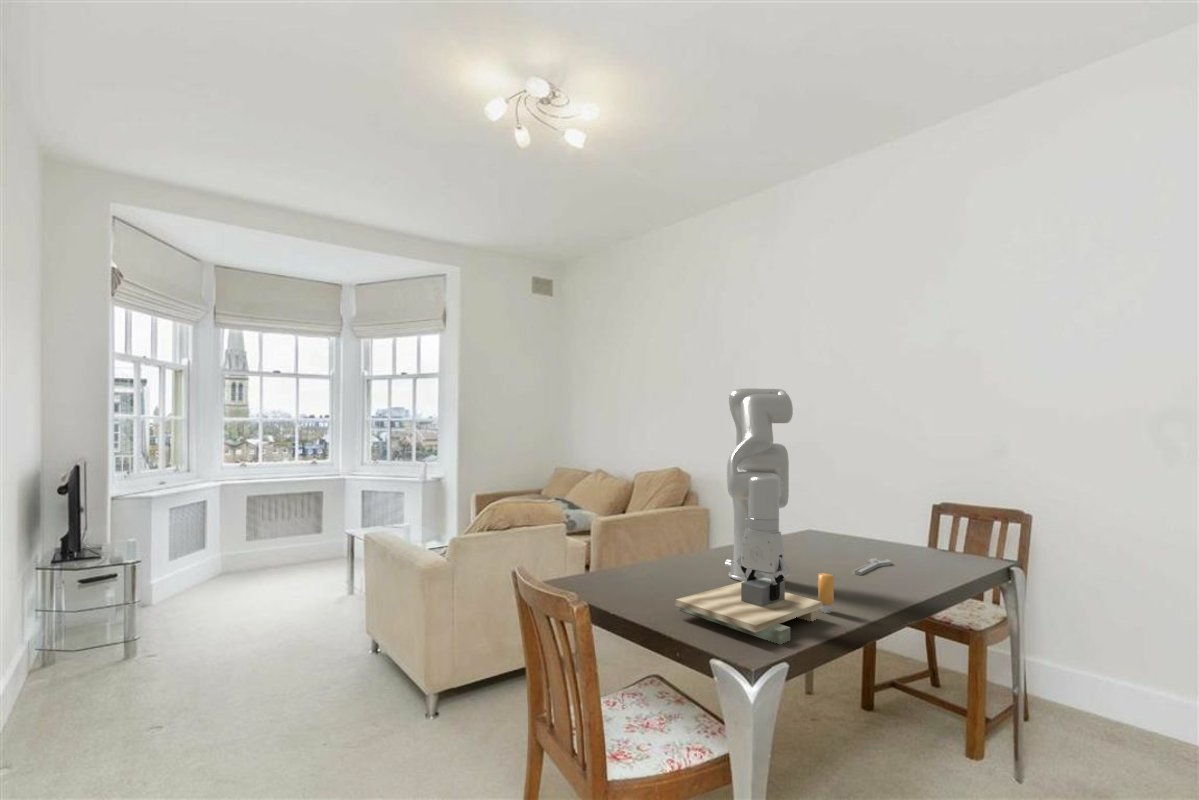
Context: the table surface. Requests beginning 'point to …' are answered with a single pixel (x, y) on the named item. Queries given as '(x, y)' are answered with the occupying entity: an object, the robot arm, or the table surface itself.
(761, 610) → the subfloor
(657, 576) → the table surface
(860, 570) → the adjustable wrench
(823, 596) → the orange and grey cylinder
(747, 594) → the block
